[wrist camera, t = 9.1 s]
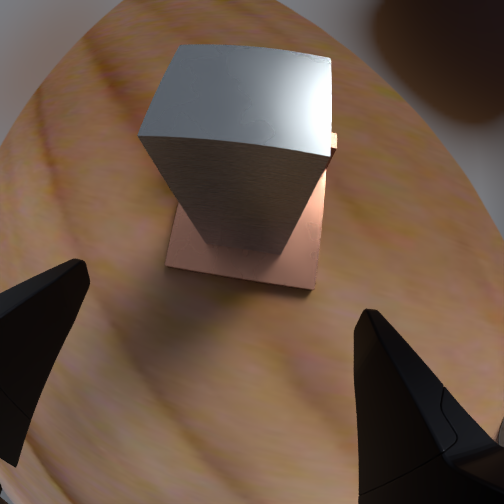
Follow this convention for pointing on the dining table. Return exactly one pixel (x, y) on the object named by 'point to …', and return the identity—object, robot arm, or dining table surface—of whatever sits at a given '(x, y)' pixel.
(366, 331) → the robot arm
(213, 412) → the dining table surface
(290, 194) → the block
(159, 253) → the dining table surface
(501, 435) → the thermos bottle
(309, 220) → the plate
